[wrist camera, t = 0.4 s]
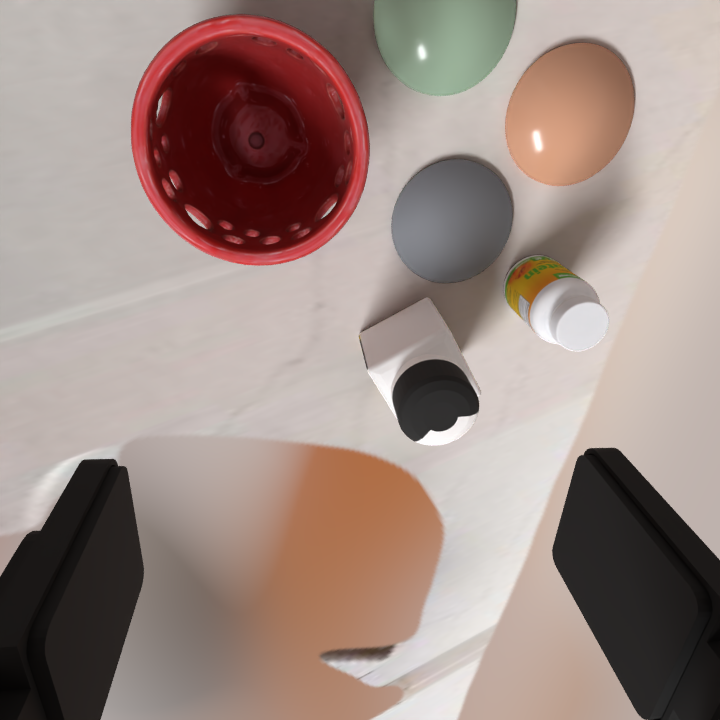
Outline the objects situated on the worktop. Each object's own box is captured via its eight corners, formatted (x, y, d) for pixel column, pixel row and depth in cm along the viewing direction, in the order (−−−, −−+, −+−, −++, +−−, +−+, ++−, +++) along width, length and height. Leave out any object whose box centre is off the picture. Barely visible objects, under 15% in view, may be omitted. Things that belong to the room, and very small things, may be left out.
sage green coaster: (350, -32, 36) (351, -34, 36) (489, -101, 36) (494, -104, 35) (401, 118, 41) (403, 119, 40) (526, 60, 40) (530, 60, 39)
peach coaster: (488, 78, 40) (492, 78, 40) (617, 19, 40) (622, 18, 39) (521, 204, 45) (525, 206, 44) (637, 153, 44) (643, 154, 43)
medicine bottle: (356, 333, 48) (374, 403, 38) (428, 294, 47) (466, 355, 37) (392, 391, 51) (418, 472, 41) (460, 356, 50) (504, 429, 40)
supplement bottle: (558, 246, 47) (618, 282, 38) (563, 302, 49) (620, 348, 40) (497, 263, 47) (543, 304, 38) (506, 318, 49) (550, 368, 41)
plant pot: (235, 252, 44) (216, 306, 33) (133, 90, 38) (71, 92, 27) (380, 175, 42) (408, 205, 32) (297, -7, 36) (298, -44, 26)
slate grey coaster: (372, 190, 43) (373, 192, 42) (490, 137, 42) (493, 138, 42) (414, 297, 48) (416, 301, 47) (521, 251, 47) (525, 254, 46)
